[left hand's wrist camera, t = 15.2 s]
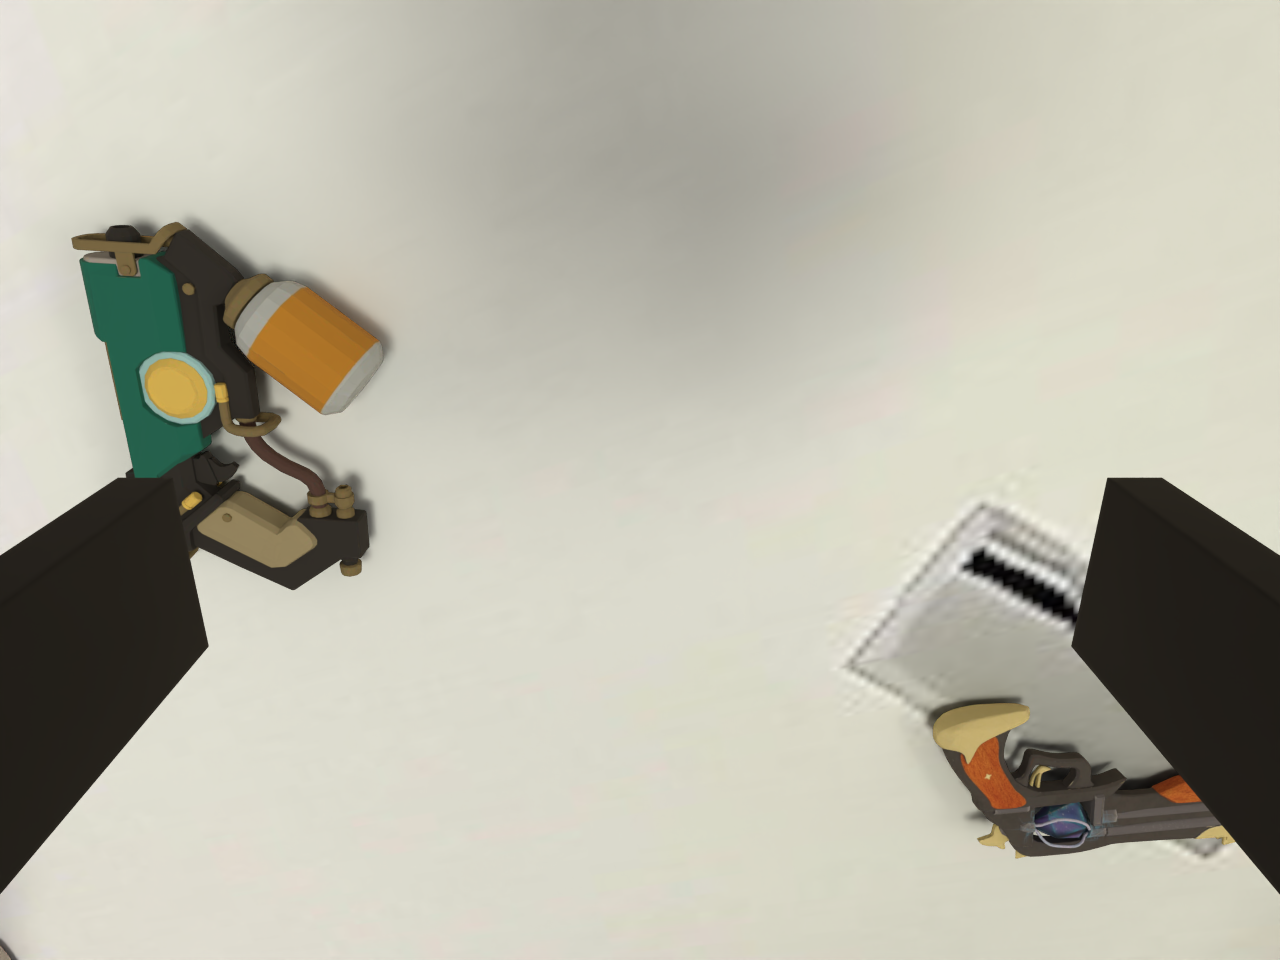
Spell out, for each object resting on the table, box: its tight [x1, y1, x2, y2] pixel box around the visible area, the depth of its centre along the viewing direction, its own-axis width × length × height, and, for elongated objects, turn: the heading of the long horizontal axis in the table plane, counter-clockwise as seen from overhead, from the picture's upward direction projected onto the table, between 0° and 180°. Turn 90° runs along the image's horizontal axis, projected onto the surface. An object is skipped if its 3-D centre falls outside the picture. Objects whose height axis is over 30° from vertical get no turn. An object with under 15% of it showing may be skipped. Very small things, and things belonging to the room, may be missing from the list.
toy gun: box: [933, 703, 1235, 858], centre depth 50 cm, size 3×19×10 cm
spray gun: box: [71, 222, 383, 590], centre depth 41 cm, size 4×17×15 cm
